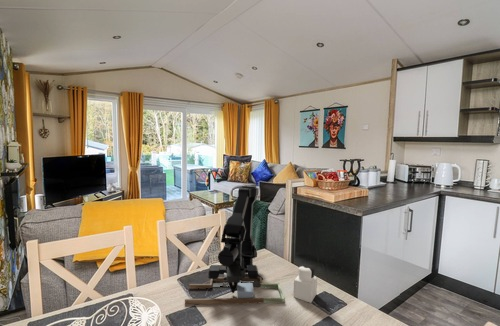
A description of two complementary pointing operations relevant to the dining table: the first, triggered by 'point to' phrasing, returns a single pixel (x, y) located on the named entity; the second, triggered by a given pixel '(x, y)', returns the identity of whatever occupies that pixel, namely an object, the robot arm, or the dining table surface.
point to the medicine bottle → (305, 283)
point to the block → (245, 290)
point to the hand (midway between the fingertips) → (232, 292)
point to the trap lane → (219, 282)
